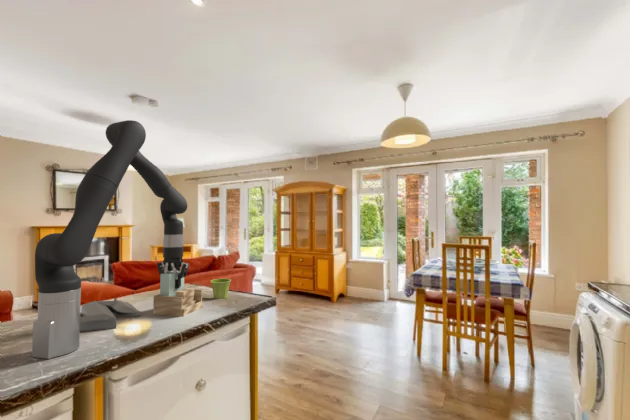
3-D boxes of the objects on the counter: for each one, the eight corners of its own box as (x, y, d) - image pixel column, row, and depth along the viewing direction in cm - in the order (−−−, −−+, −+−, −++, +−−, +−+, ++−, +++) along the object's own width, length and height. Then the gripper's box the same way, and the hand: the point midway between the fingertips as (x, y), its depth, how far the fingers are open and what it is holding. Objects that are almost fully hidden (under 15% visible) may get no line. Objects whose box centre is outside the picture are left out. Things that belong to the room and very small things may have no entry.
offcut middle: (181, 306, 114) (181, 299, 114) (171, 305, 115) (171, 299, 115) (193, 301, 122) (193, 294, 122) (184, 300, 123) (184, 294, 123)
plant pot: (233, 299, 139) (233, 281, 140) (212, 302, 135) (212, 283, 135) (228, 295, 147) (228, 277, 148) (208, 297, 143) (208, 279, 143)
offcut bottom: (179, 314, 113) (179, 306, 114) (170, 314, 114) (170, 306, 115) (196, 307, 123) (196, 300, 123) (187, 306, 124) (187, 299, 124)
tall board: (168, 313, 115) (169, 274, 116) (159, 312, 116) (160, 274, 117) (183, 307, 124) (184, 270, 125) (175, 306, 125) (176, 270, 125)
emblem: (158, 299, 121) (92, 321, 94) (158, 312, 121) (91, 339, 94) (103, 295, 127) (26, 315, 100) (102, 308, 127) (25, 331, 100)
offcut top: (183, 298, 116) (183, 292, 116) (175, 297, 117) (175, 291, 117) (194, 295, 122) (194, 288, 122) (186, 294, 123) (186, 288, 123)
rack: (182, 319, 111) (183, 297, 112) (153, 316, 114) (153, 295, 115) (203, 309, 124) (203, 289, 124) (176, 307, 127) (176, 288, 127)
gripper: (151, 246, 119) (150, 289, 118) (182, 246, 116) (181, 291, 115) (164, 244, 126) (164, 285, 126) (194, 245, 123) (193, 287, 122)
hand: (172, 287), depth 120 cm, fingers closed on tall board, 4 cm apart
